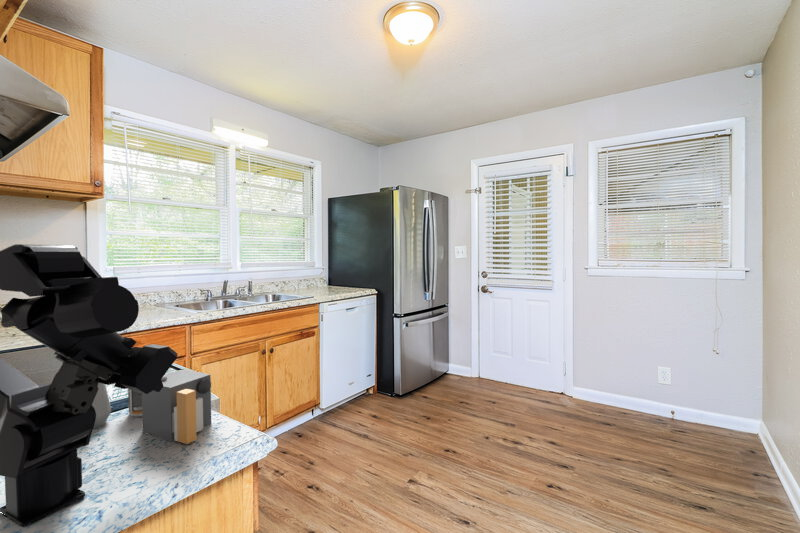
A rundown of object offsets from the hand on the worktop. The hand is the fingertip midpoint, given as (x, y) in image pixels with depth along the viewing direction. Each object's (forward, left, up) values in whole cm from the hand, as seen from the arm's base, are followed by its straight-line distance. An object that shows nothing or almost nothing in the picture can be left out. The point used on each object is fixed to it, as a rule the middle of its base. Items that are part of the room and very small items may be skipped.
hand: (160, 389), depth 61 cm
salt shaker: (+2, +24, -11) cm, 27 cm away
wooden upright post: (+7, +2, -11) cm, 13 cm away
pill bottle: (+10, +21, -12) cm, 26 cm away
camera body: (+8, +8, -11) cm, 16 cm away
